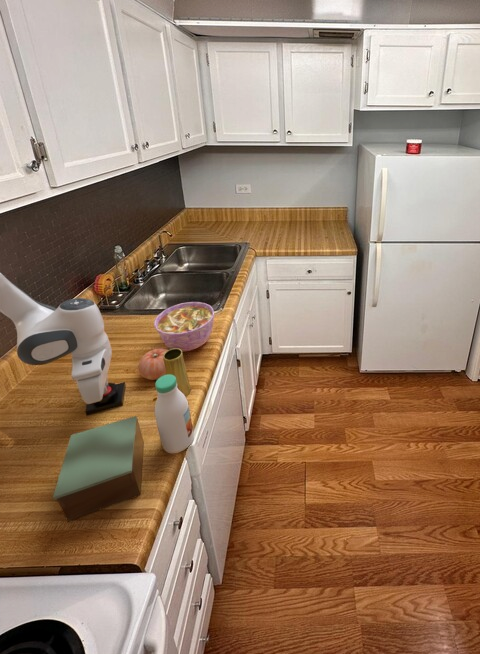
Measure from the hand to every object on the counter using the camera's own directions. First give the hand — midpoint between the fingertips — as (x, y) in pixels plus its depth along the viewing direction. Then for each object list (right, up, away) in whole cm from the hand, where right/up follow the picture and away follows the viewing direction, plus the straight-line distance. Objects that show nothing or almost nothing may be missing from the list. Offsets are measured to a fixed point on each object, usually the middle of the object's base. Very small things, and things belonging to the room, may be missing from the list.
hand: (104, 390), depth 96 cm
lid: (+14, -4, -23) cm, 27 cm away
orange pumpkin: (+10, 0, +12) cm, 16 cm away
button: (0, -2, +1) cm, 2 cm away
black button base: (0, -3, +1) cm, 4 cm away
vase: (+20, -2, +4) cm, 21 cm away
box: (+14, -12, -19) cm, 27 cm away
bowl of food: (+15, +6, +25) cm, 30 cm away
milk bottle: (+26, -9, -10) cm, 29 cm away
